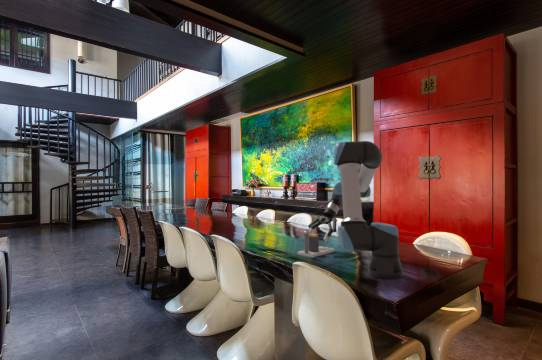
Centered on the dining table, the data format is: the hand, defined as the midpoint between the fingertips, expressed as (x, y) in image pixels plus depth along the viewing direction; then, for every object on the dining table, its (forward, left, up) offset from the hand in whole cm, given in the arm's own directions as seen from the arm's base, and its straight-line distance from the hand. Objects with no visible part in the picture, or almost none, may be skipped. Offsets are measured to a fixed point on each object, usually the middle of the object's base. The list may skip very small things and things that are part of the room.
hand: (315, 238), depth 176 cm
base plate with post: (-1, -1, -9) cm, 9 cm away
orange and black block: (-3, +1, -8) cm, 9 cm away
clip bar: (-4, +8, +4) cm, 10 cm away
